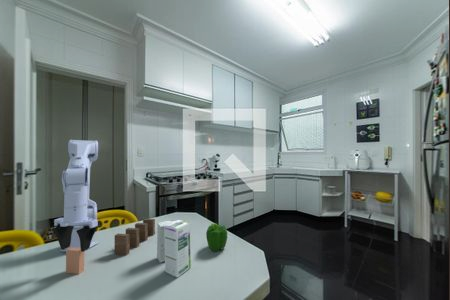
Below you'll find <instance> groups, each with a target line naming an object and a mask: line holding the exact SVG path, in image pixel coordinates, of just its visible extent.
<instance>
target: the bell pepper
mask: <svg viewBox="0 0 450 300" xmlns="http://www.w3.org/2000/svg"><path fill="white" fill-rule="evenodd" d="M205 233H206V236H205V237H206V242H207V245H208V249H209V250H210V251H211V252H218V251H220V250H224V249H225V248H226V245H227V240H228V230H227V227H226V225H222V226H221V225H219V224H217V223H215V222H212V223H211V224H210V225H209V226H208V227H207V230H206V232H205Z"/></svg>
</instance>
